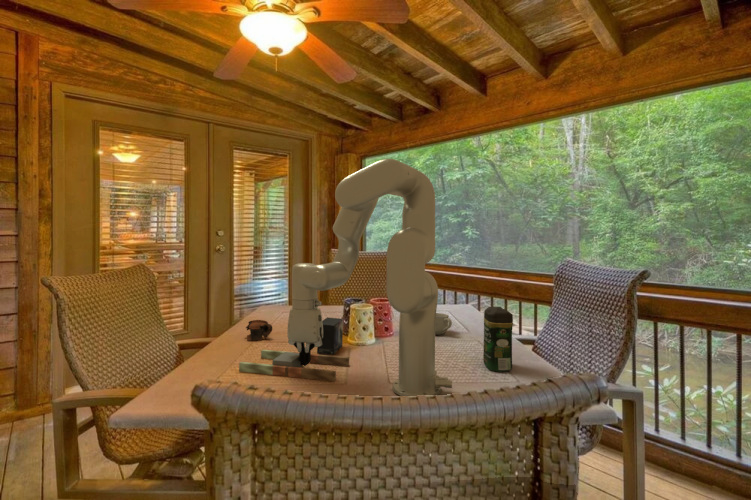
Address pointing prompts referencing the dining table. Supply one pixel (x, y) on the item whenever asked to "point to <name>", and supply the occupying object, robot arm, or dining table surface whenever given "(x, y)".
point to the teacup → (442, 323)
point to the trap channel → (295, 371)
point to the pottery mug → (258, 329)
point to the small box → (331, 336)
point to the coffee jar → (498, 339)
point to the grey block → (287, 360)
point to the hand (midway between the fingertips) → (305, 364)
